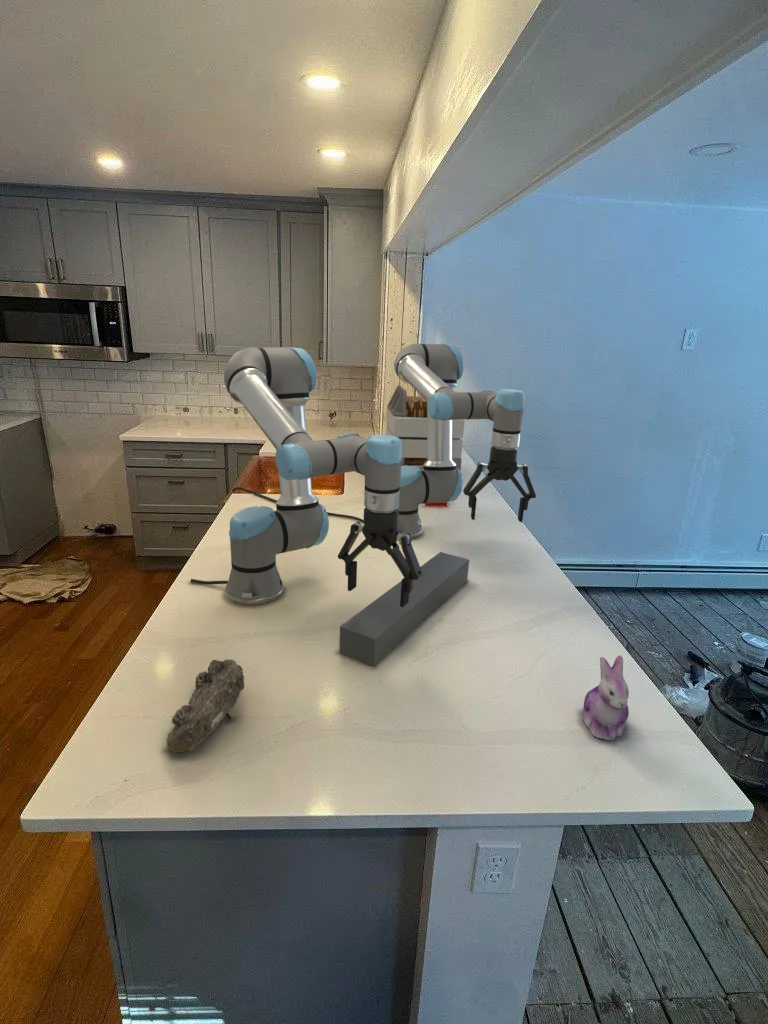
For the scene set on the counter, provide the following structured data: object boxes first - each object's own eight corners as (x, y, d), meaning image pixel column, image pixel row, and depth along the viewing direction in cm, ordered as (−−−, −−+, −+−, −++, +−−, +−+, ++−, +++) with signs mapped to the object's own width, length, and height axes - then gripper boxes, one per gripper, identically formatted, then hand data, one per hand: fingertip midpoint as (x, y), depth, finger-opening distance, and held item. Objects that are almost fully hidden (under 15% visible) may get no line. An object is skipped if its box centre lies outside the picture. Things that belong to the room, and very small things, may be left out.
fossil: (192, 660, 117) (244, 628, 112) (224, 691, 120) (276, 661, 115) (142, 746, 98) (202, 712, 93) (182, 779, 101) (242, 748, 96)
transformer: (382, 463, 289) (386, 382, 275) (445, 464, 293) (451, 384, 279) (390, 482, 257) (394, 392, 243) (460, 483, 261) (468, 394, 247)
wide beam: (438, 572, 172) (440, 551, 169) (467, 581, 167) (469, 559, 165) (339, 652, 130) (339, 626, 127) (373, 666, 125) (375, 639, 123)
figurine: (608, 750, 104) (623, 681, 99) (567, 715, 113) (579, 651, 107) (643, 734, 108) (659, 668, 103) (601, 702, 117) (614, 640, 112)
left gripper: (323, 501, 124) (322, 588, 131) (427, 525, 113) (420, 618, 120) (341, 493, 130) (340, 576, 137) (441, 514, 119) (434, 604, 126)
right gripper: (460, 448, 152) (454, 521, 159) (553, 452, 152) (542, 525, 159) (457, 441, 159) (451, 512, 167) (546, 446, 159) (536, 516, 166)
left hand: (377, 596), depth 129 cm, fingers open, 13 cm apart
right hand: (496, 519), depth 163 cm, fingers open, 13 cm apart
